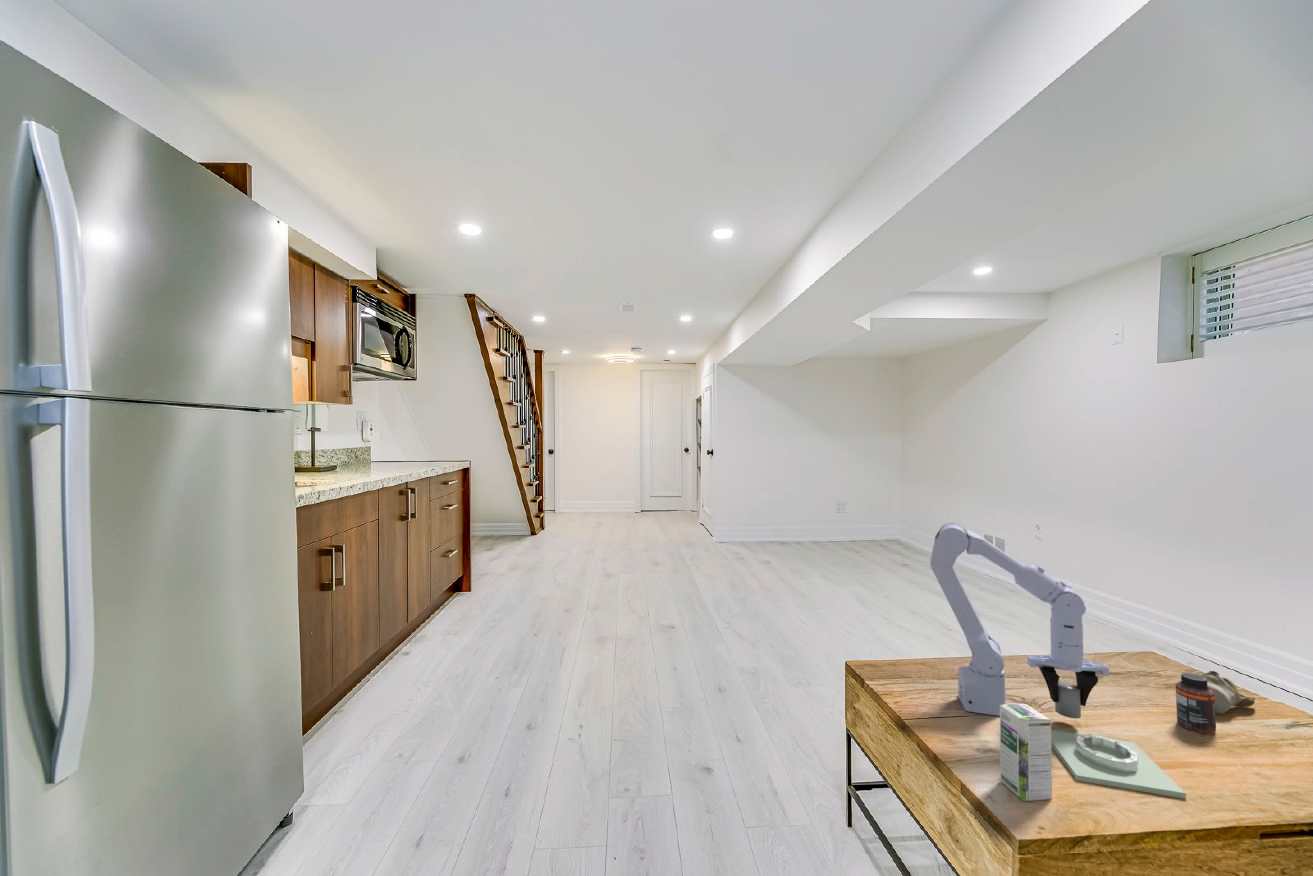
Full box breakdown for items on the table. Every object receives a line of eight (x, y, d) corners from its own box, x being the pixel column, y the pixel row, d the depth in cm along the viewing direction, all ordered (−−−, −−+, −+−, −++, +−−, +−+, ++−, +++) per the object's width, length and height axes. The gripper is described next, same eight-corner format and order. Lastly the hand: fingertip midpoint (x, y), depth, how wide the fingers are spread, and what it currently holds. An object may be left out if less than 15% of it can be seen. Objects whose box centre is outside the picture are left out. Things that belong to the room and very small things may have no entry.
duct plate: (1076, 780, 94) (1076, 775, 94) (1042, 733, 109) (1042, 729, 109) (1185, 799, 89) (1185, 793, 89) (1133, 747, 104) (1133, 742, 104)
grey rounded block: (1060, 716, 111) (1059, 689, 112) (1051, 705, 116) (1050, 679, 116) (1084, 720, 110) (1084, 692, 110) (1074, 708, 115) (1074, 682, 115)
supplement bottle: (1206, 723, 112) (1205, 673, 113) (1222, 738, 107) (1221, 684, 107) (1171, 718, 115) (1169, 668, 115) (1185, 731, 110) (1183, 679, 110)
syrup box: (998, 781, 94) (997, 703, 95) (1028, 778, 95) (1026, 702, 95) (1023, 802, 89) (1021, 720, 89) (1054, 800, 89) (1052, 718, 89)
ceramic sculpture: (1171, 667, 121) (1195, 658, 128) (1171, 703, 121) (1195, 692, 128) (1237, 686, 112) (1258, 675, 119) (1237, 725, 112) (1258, 712, 119)
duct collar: (1090, 767, 96) (1089, 757, 96) (1068, 741, 105) (1068, 731, 105) (1149, 776, 94) (1148, 766, 94) (1122, 749, 102) (1122, 739, 102)
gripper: (1035, 644, 112) (1036, 705, 111) (1116, 652, 107) (1117, 716, 107) (1023, 633, 118) (1024, 690, 118) (1099, 640, 114) (1100, 700, 113)
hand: (1067, 702), depth 113 cm, fingers closed on grey rounded block, 4 cm apart
